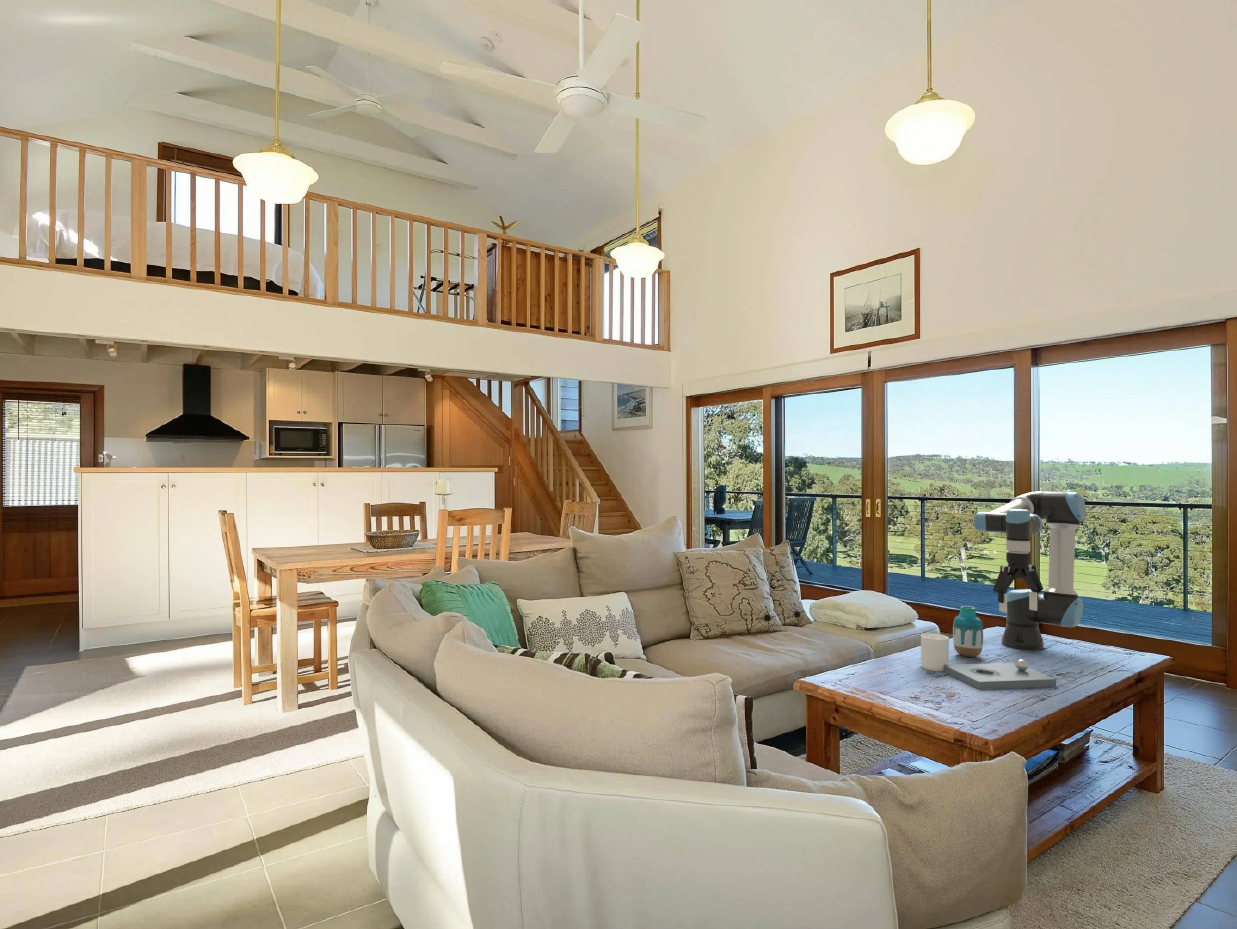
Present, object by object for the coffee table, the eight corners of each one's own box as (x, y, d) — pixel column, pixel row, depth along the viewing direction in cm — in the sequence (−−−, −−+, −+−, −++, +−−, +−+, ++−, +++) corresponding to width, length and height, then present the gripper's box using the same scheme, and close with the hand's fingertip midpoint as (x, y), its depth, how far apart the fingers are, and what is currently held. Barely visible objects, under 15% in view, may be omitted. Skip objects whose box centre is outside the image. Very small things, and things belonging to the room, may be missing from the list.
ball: (1023, 669, 243) (1023, 657, 243) (1031, 672, 239) (1031, 660, 239) (1012, 669, 242) (1012, 658, 242) (1020, 672, 238) (1020, 661, 238)
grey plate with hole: (1015, 669, 251) (1015, 662, 251) (1056, 686, 231) (1056, 679, 231) (943, 671, 248) (943, 664, 248) (979, 689, 228) (979, 681, 228)
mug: (937, 673, 246) (937, 640, 246) (909, 665, 257) (909, 633, 257) (954, 669, 251) (954, 637, 251) (926, 661, 261) (926, 631, 261)
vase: (947, 654, 272) (946, 606, 272) (965, 651, 276) (965, 603, 276) (970, 661, 262) (970, 610, 262) (989, 657, 267) (989, 608, 267)
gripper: (1036, 550, 254) (1036, 607, 254) (981, 551, 247) (981, 610, 247) (1054, 552, 247) (1054, 611, 247) (998, 554, 240) (998, 614, 240)
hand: (1018, 611), depth 247 cm, fingers open, 13 cm apart
